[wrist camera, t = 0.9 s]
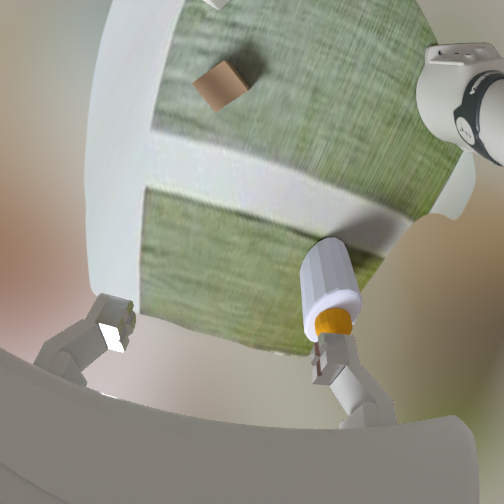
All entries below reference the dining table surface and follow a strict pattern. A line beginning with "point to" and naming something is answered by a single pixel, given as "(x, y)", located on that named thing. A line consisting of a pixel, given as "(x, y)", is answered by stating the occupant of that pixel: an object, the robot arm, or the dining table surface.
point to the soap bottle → (329, 290)
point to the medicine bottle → (217, 3)
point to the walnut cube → (221, 85)
